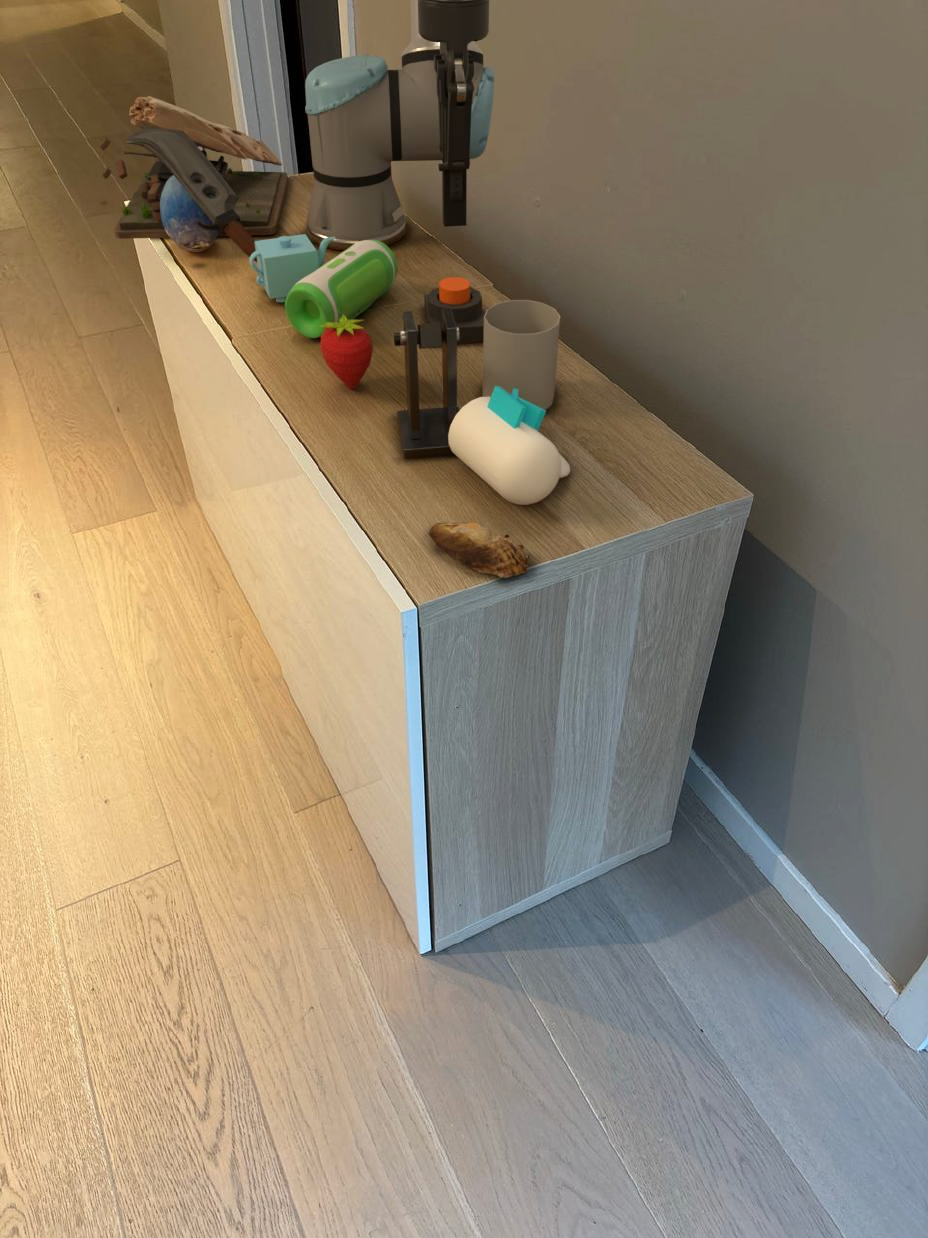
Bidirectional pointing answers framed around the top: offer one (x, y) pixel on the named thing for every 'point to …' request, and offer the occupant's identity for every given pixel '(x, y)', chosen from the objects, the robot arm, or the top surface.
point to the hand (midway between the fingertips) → (454, 223)
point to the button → (454, 290)
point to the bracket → (418, 426)
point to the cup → (521, 350)
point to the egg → (184, 218)
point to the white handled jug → (507, 446)
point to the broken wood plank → (199, 130)
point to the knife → (197, 168)
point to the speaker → (341, 287)
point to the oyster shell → (480, 548)
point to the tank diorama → (253, 189)
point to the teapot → (286, 262)
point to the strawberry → (346, 350)
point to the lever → (425, 336)
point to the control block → (458, 315)
